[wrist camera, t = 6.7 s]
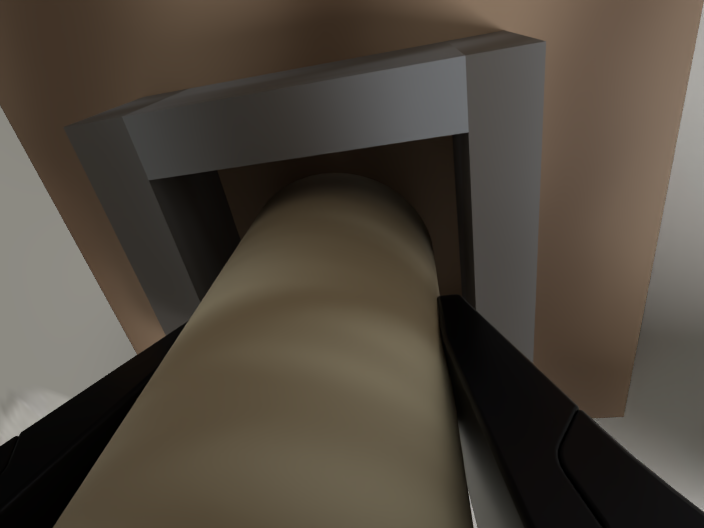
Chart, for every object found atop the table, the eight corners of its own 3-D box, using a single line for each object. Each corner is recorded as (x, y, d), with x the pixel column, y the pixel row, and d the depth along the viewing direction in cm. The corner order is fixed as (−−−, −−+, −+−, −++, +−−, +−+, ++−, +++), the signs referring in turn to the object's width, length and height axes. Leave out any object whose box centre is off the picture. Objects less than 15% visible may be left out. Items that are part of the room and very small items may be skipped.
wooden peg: (424, 158, 9) (557, 925, 2) (440, 326, 11) (526, 984, 4) (225, 187, 10) (-346, 803, 2) (276, 339, 12) (70, 913, 5)
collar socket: (701, -245, 8) (983, -473, 4) (605, 383, 16) (672, 505, 12) (-32, -52, 11) (-275, -83, 7) (197, 406, 18) (145, 512, 15)
